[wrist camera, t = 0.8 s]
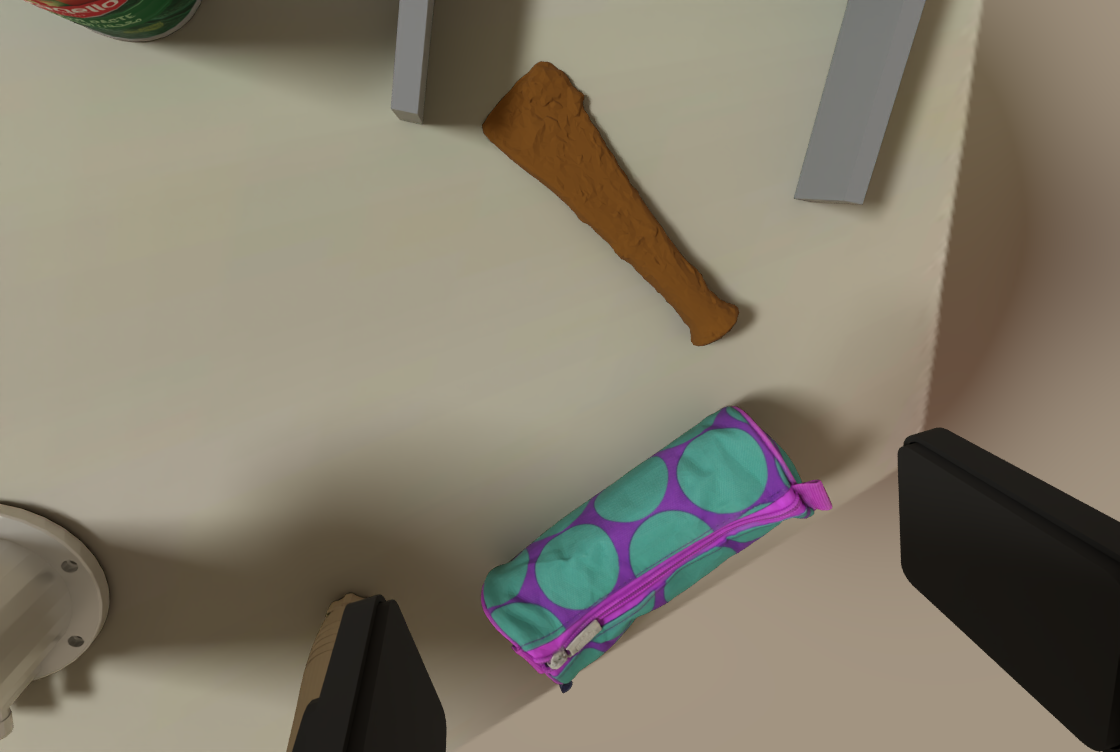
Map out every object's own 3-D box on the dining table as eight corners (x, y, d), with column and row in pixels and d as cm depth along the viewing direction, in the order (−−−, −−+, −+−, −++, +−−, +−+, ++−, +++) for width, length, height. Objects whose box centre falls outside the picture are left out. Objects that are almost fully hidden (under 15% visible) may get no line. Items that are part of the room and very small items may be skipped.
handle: (355, 560, 39) (301, 771, 25) (409, 622, 41) (388, 847, 27) (294, 597, 39) (206, 827, 25) (351, 656, 41) (301, 898, 27)
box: (810, 201, 37) (862, 204, 32) (399, 119, 31) (391, 108, 27) (883, -56, 33) (955, -96, 28) (427, -203, 27) (422, -282, 23)
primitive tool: (477, 128, 32) (480, 121, 29) (543, 52, 32) (554, 37, 29) (690, 347, 39) (713, 361, 36) (749, 287, 39) (777, 296, 35)
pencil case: (546, 624, 44) (571, 738, 35) (474, 550, 41) (480, 654, 32) (771, 463, 43) (857, 537, 34) (714, 374, 40) (792, 430, 31)
